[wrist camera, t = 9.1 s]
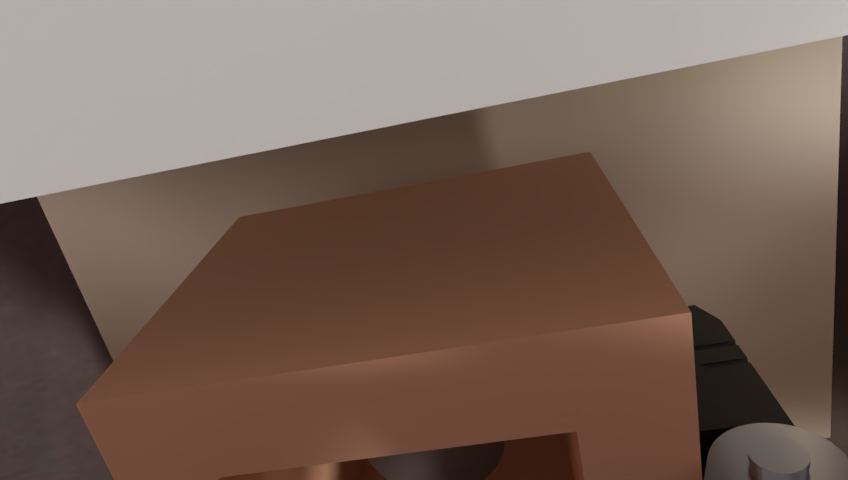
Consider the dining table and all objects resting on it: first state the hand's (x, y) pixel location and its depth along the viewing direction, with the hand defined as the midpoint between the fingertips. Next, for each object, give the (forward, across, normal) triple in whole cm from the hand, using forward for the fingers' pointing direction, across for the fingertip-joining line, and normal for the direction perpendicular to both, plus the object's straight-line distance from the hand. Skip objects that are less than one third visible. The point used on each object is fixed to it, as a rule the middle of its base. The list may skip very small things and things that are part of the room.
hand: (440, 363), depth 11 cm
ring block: (+1, 0, 0) cm, 1 cm away
